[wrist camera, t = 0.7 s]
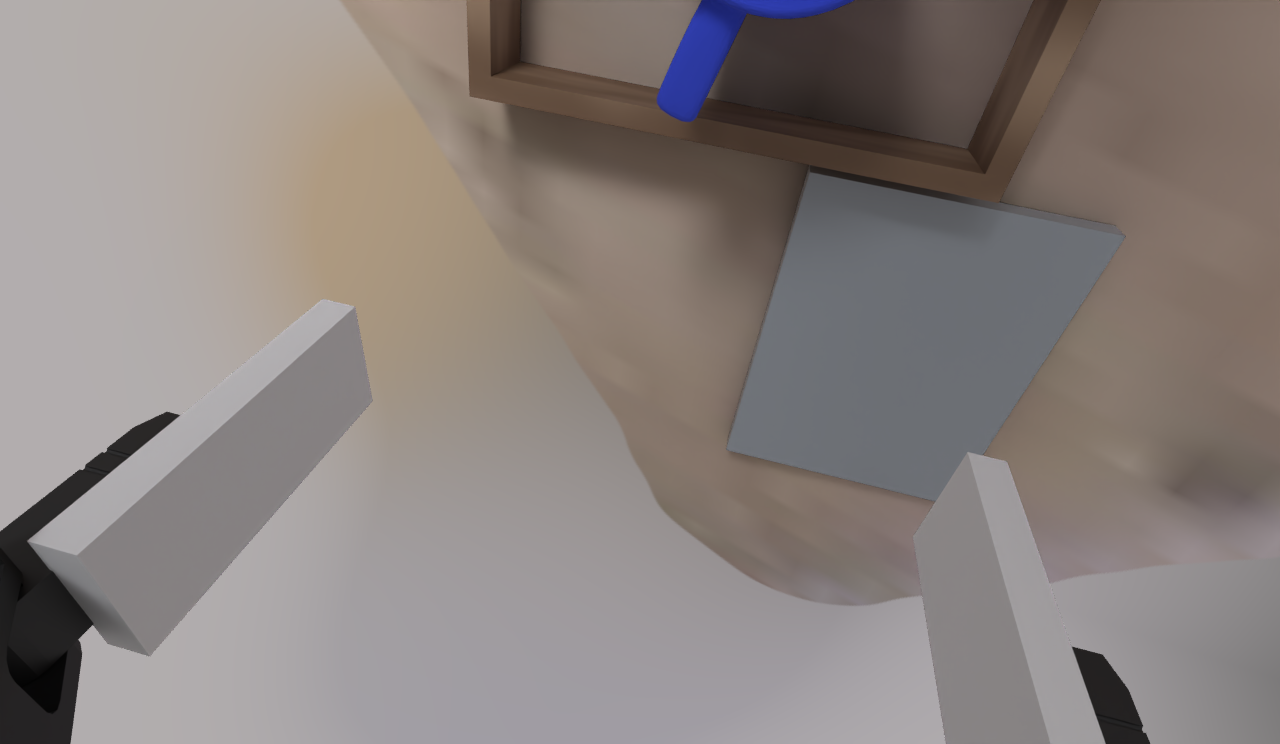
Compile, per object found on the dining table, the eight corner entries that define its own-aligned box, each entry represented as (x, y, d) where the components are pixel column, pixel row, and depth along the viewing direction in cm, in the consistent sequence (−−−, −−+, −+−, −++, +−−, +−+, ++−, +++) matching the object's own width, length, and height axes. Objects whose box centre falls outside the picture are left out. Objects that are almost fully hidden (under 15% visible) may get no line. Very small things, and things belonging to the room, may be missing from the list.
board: (809, 163, 30) (809, 172, 29) (1115, 225, 29) (1125, 236, 28) (727, 437, 41) (726, 449, 40) (946, 490, 39) (950, 505, 38)
